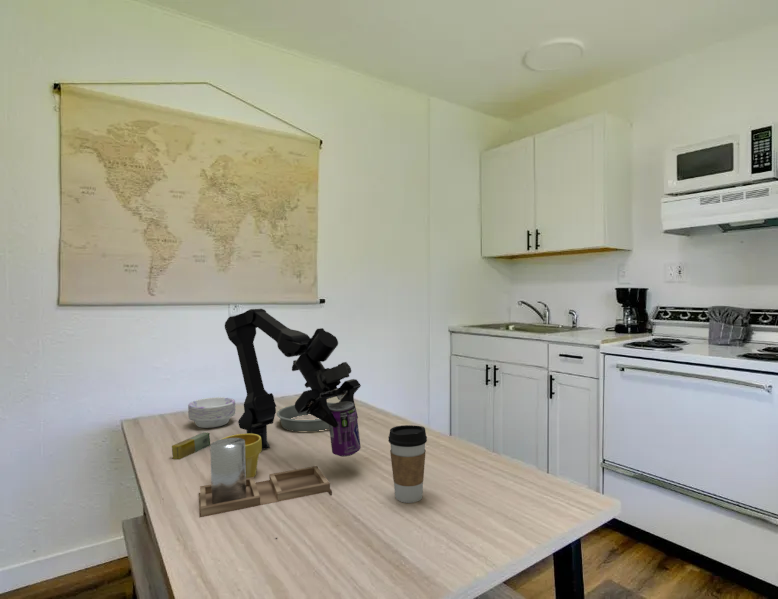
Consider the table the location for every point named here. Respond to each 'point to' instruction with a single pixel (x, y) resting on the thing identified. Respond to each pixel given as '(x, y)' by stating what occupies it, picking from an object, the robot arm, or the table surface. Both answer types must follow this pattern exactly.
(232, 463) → the seated billet
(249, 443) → the plant pot
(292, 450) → the table surface
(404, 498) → the coffee cup
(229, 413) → the paper bowls
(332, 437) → the beverage can
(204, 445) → the medication box
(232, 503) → the wooden tray
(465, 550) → the table surface
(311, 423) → the cake pan
